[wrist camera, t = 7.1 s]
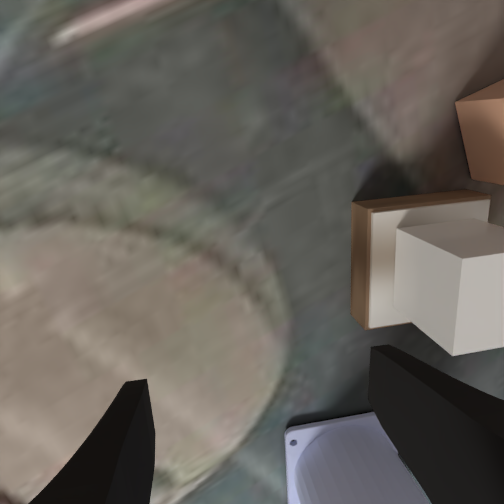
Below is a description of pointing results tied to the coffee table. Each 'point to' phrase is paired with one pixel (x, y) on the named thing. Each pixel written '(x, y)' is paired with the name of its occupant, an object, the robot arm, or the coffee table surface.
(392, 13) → the coffee table surface
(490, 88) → the terracotta block
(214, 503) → the coffee table surface
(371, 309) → the plinth
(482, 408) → the robot arm
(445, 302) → the stone block
